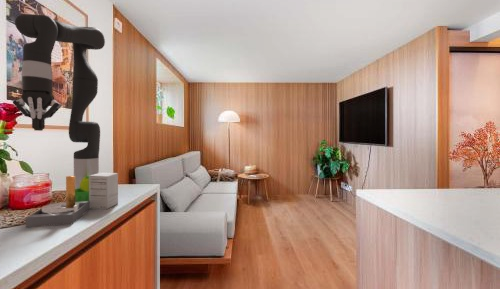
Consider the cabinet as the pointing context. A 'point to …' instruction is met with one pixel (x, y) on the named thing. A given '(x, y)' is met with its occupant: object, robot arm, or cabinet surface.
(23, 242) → the cabinet surface
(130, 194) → the cabinet surface
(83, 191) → the fruit basket
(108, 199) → the supplement box
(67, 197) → the dial
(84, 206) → the housing
